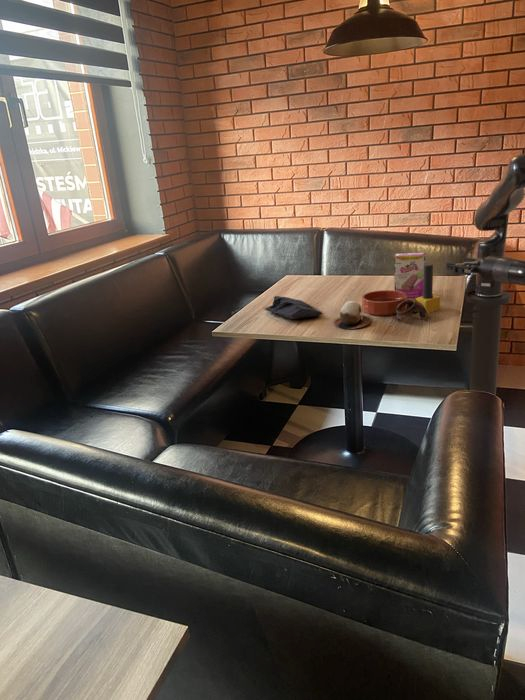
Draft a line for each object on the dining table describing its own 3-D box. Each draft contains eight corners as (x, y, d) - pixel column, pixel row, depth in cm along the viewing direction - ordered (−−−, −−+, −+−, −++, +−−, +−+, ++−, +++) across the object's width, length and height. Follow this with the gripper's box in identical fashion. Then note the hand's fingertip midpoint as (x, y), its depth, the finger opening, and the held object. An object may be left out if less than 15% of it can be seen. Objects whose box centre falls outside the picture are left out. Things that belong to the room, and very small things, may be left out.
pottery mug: (431, 325, 172) (419, 306, 169) (404, 337, 177) (392, 318, 173) (429, 305, 181) (418, 287, 178) (404, 317, 186) (392, 299, 183)
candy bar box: (394, 299, 202) (393, 256, 197) (395, 295, 207) (394, 253, 201) (425, 298, 199) (425, 254, 193) (425, 294, 204) (425, 251, 198)
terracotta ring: (379, 301, 202) (378, 288, 200) (415, 307, 190) (415, 293, 189) (353, 311, 192) (352, 298, 190) (390, 318, 181) (390, 304, 179)
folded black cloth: (286, 324, 185) (285, 311, 183) (263, 309, 205) (261, 297, 203) (325, 315, 190) (324, 302, 188) (299, 302, 209) (298, 290, 208)
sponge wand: (428, 306, 190) (429, 261, 184) (440, 308, 186) (441, 263, 180) (414, 310, 187) (415, 265, 181) (426, 313, 183) (427, 267, 177)
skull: (341, 312, 188) (358, 292, 182) (362, 333, 186) (380, 314, 180) (325, 322, 179) (343, 301, 173) (347, 344, 177) (366, 324, 171)
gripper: (516, 253, 160) (470, 247, 173) (486, 261, 153) (441, 255, 166) (514, 277, 163) (469, 270, 176) (485, 287, 156) (440, 279, 169)
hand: (455, 263), depth 171 cm, fingers open, 8 cm apart
